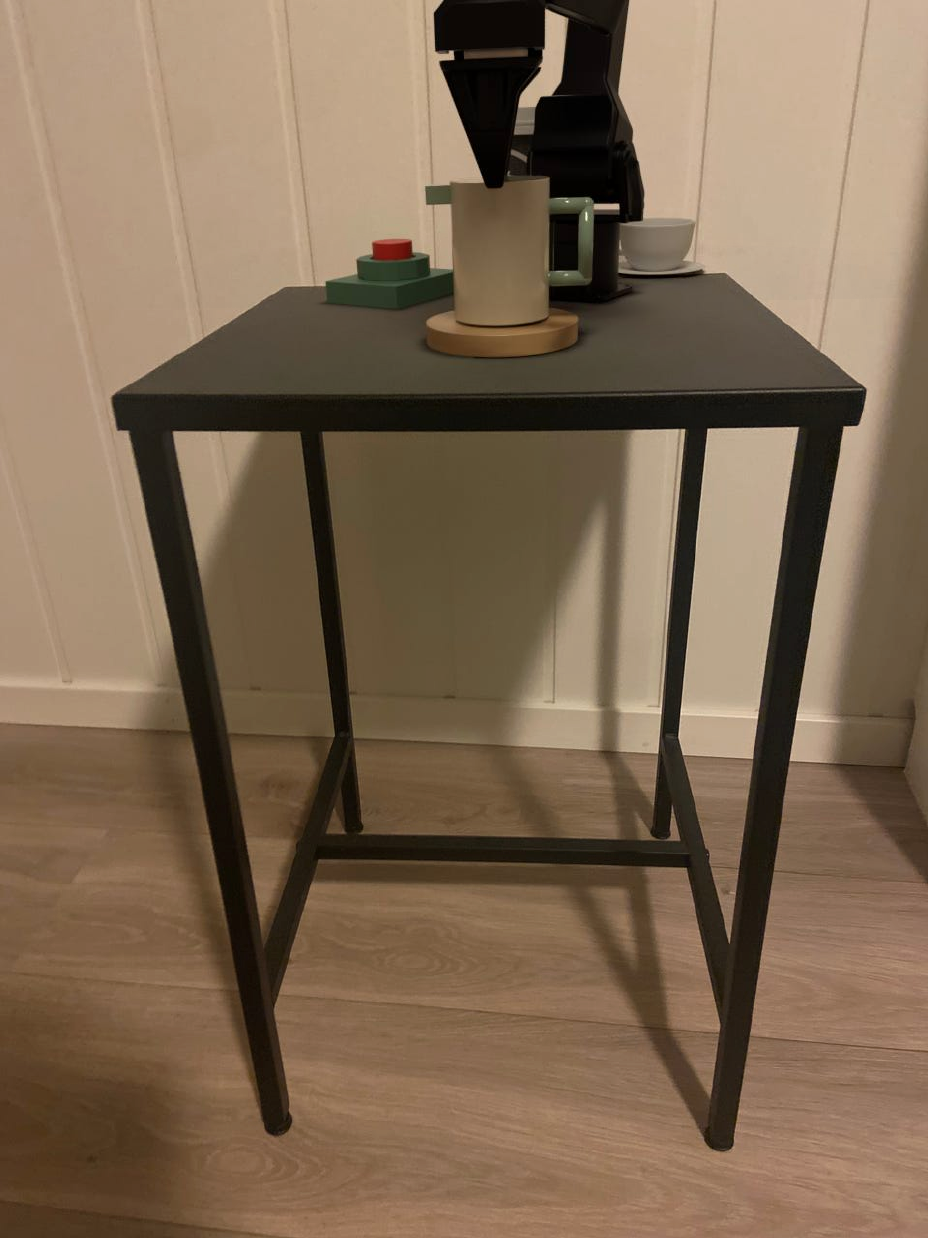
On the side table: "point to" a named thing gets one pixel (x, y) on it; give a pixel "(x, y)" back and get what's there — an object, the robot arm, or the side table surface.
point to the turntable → (502, 336)
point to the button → (392, 249)
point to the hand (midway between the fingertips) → (497, 183)
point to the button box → (391, 283)
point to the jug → (508, 247)
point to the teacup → (657, 246)
